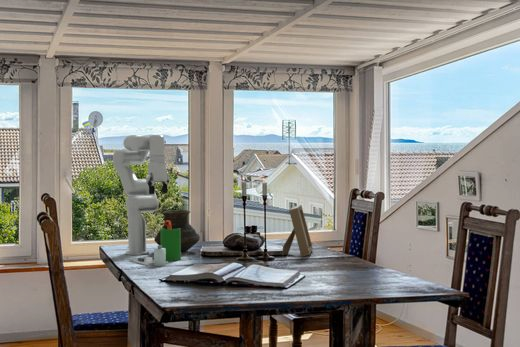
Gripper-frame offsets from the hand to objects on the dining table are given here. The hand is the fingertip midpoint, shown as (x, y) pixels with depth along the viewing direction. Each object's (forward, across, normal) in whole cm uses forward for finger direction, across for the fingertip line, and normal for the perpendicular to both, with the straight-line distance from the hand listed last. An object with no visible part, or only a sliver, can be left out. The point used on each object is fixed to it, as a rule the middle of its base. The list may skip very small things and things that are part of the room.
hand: (158, 193), depth 344 cm
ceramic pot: (+33, -27, -11) cm, 44 cm away
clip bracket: (+34, +7, -2) cm, 34 cm away
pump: (+34, +12, +10) cm, 38 cm away
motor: (+34, -5, +3) cm, 34 cm away
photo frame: (+35, -52, +49) cm, 80 cm away
